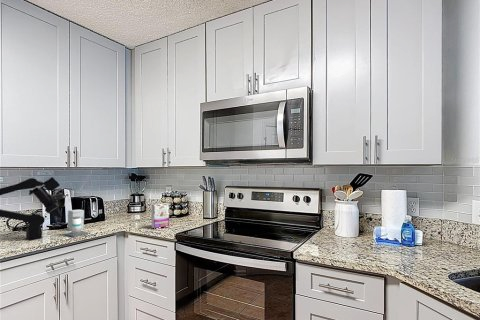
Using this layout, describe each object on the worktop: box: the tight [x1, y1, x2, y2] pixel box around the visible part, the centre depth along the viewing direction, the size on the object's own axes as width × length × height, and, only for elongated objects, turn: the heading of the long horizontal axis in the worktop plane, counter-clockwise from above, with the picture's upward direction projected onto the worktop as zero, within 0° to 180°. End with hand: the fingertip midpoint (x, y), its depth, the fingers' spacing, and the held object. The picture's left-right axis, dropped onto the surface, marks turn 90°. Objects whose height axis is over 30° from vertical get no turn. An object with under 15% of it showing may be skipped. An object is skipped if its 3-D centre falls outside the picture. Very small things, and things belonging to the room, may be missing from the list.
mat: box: [64, 230, 89, 238], centre depth 167 cm, size 9×9×1 cm
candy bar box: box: [151, 203, 170, 229], centre depth 189 cm, size 11×5×16 cm, turn 129°
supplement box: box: [67, 209, 85, 231], centre depth 184 cm, size 7×7×13 cm
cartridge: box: [71, 216, 82, 234], centre depth 167 cm, size 5×5×10 cm
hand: (61, 216), depth 166 cm, fingers open, 9 cm apart
